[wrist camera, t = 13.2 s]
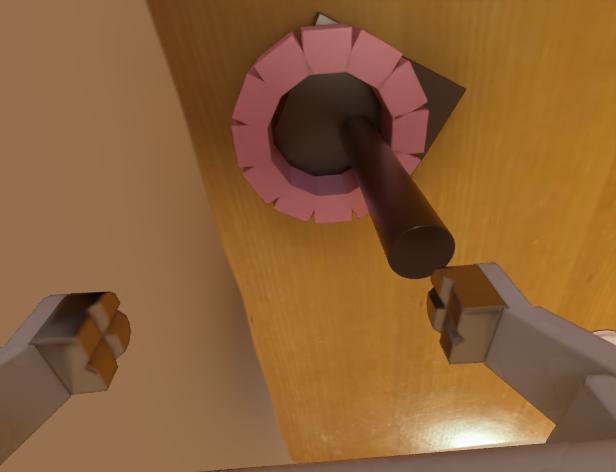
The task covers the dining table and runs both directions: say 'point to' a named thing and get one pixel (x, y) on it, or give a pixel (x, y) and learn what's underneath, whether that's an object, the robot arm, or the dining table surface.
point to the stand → (370, 157)
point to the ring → (290, 72)
